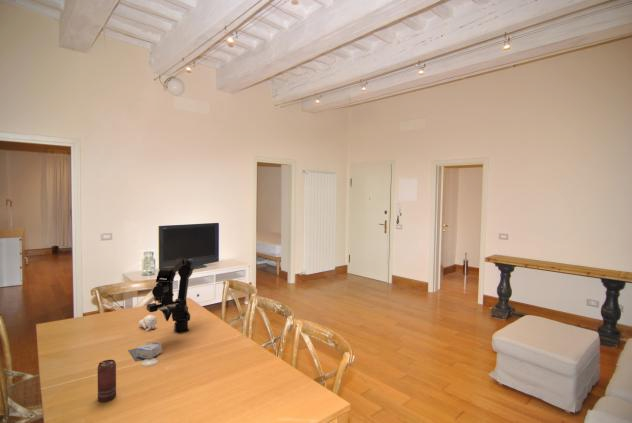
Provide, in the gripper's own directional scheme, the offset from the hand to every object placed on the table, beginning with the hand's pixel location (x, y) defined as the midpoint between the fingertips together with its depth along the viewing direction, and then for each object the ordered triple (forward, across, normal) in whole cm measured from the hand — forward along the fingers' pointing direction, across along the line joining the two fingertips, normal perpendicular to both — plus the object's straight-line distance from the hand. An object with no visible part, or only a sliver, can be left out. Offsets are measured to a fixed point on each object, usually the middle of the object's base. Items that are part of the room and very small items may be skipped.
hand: (167, 320), depth 183 cm
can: (+12, +34, +34) cm, 50 cm away
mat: (+13, +13, +3) cm, 18 cm away
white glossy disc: (+13, +13, +15) cm, 24 cm away
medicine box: (+10, +7, +5) cm, 13 cm away
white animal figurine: (+13, +2, -29) cm, 32 cm away
